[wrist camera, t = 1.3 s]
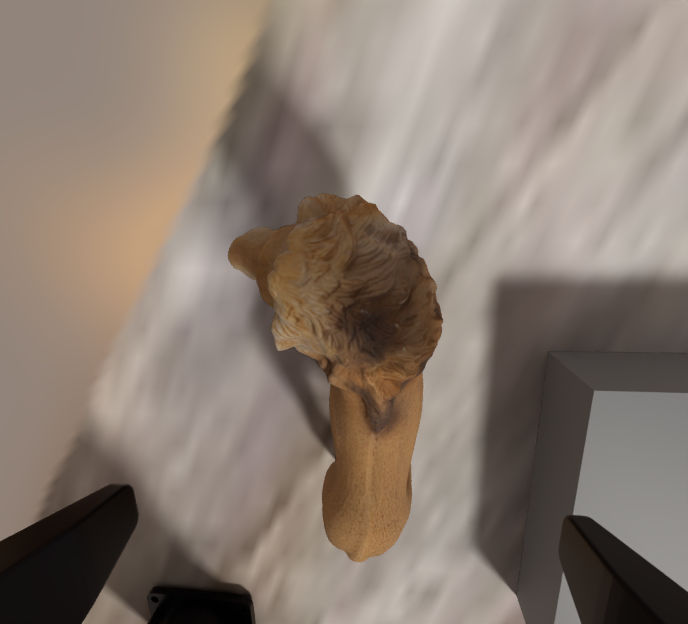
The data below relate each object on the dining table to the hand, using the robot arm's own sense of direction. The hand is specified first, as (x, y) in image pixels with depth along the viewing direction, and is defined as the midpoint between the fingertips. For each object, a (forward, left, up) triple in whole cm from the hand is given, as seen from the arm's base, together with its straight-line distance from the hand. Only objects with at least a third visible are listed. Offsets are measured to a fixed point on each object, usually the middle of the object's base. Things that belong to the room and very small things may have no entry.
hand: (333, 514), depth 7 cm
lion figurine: (0, 0, -10) cm, 10 cm away
